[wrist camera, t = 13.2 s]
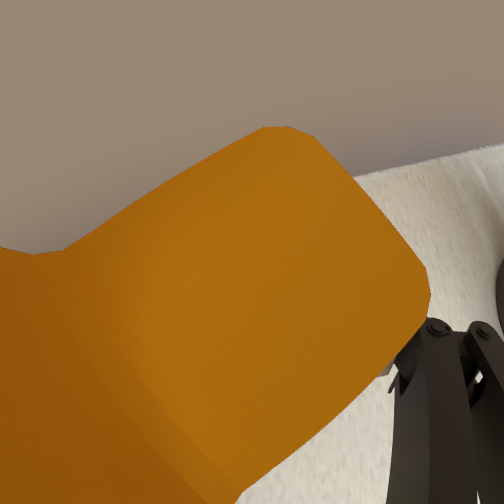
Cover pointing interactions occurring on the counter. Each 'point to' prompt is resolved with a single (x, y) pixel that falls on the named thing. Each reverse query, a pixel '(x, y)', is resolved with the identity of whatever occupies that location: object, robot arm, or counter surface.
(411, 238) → the counter surface
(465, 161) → the counter surface
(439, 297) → the counter surface
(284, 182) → the soap bottle
